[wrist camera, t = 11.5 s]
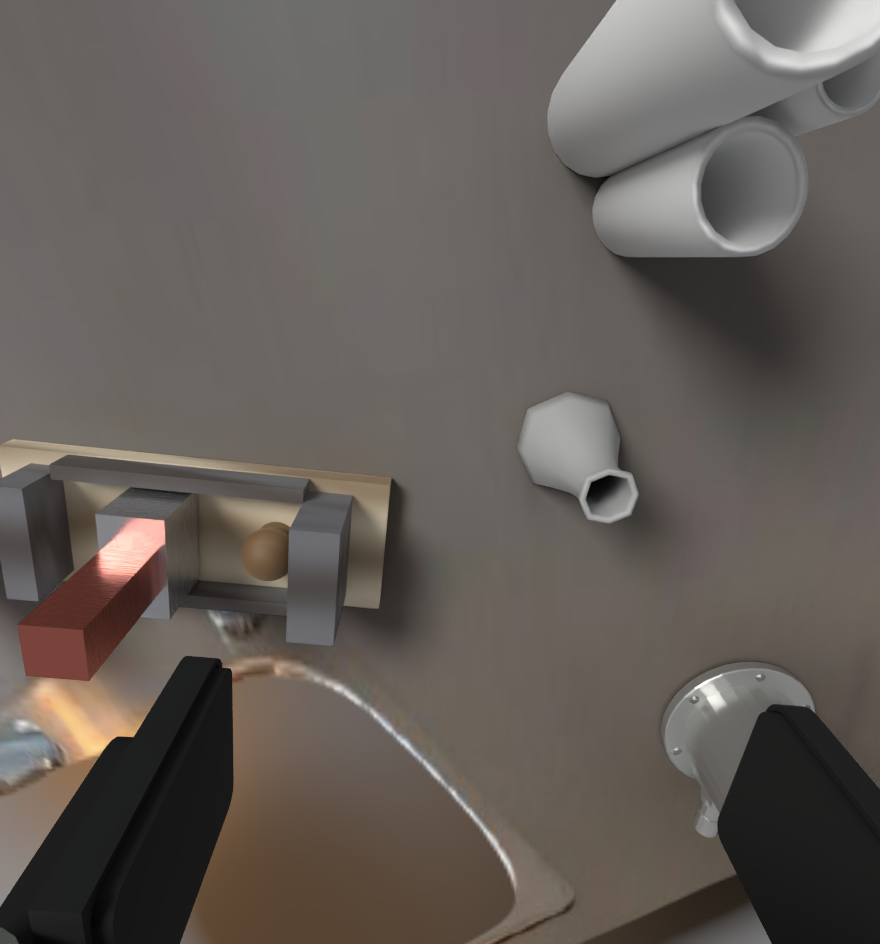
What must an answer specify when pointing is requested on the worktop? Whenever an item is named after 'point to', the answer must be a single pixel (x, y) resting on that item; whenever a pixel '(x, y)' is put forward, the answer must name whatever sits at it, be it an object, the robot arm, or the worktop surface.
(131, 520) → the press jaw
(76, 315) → the worktop surface
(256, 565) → the walnut
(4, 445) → the cracker board
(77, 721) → the worktop surface
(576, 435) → the flask
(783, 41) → the vase
